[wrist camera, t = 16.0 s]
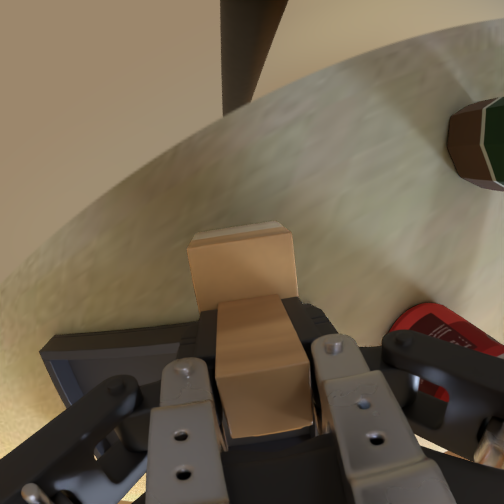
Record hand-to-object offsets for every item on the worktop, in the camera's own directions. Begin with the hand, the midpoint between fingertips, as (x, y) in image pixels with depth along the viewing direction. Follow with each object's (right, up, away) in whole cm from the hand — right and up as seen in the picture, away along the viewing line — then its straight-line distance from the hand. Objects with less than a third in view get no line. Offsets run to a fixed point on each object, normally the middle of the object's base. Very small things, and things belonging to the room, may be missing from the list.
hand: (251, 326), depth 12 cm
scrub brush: (0, +1, +4) cm, 4 cm away
